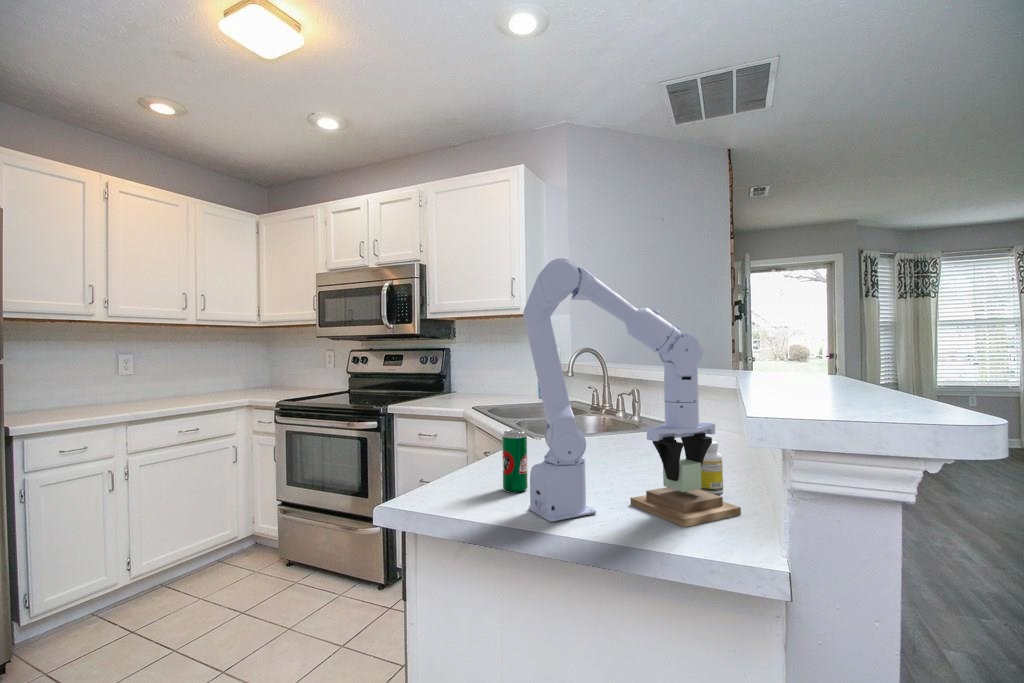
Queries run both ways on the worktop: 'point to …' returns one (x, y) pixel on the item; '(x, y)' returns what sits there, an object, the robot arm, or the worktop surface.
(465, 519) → the worktop surface
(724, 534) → the worktop surface
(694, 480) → the sage block
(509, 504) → the worktop surface
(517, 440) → the soda can
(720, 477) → the supplement bottle
